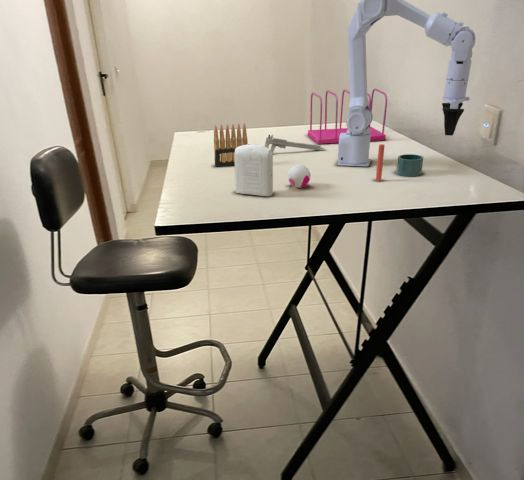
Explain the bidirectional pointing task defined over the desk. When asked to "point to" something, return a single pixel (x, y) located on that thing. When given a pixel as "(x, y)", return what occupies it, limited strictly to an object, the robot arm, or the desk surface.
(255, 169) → the white tall block
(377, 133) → the file sorter
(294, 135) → the desk surface
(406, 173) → the cup
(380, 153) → the red cylinder rod
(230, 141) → the ammunition clip
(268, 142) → the caliper
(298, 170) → the stress ball
